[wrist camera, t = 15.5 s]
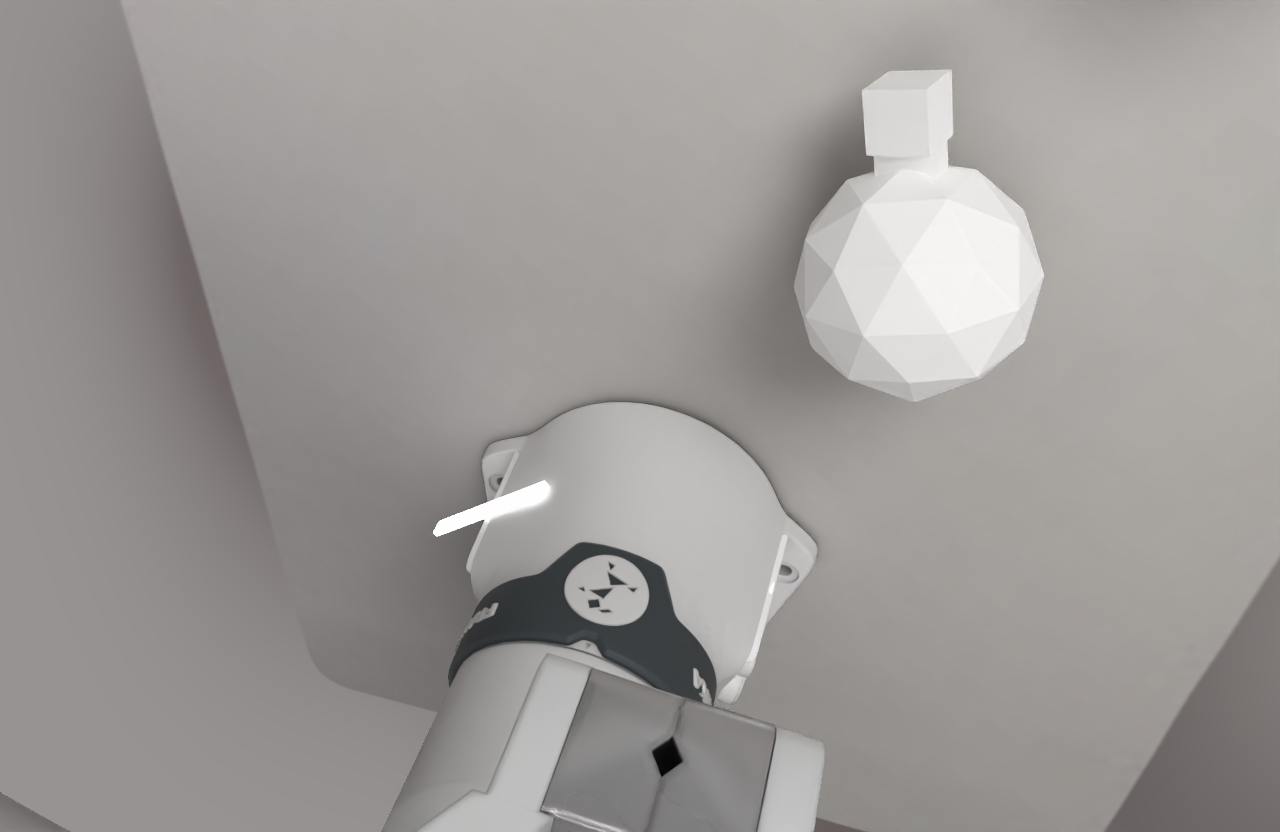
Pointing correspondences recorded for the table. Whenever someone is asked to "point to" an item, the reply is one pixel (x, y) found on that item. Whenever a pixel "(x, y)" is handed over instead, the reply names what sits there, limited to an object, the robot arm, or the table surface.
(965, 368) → the perfume bottle
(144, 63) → the table surface
